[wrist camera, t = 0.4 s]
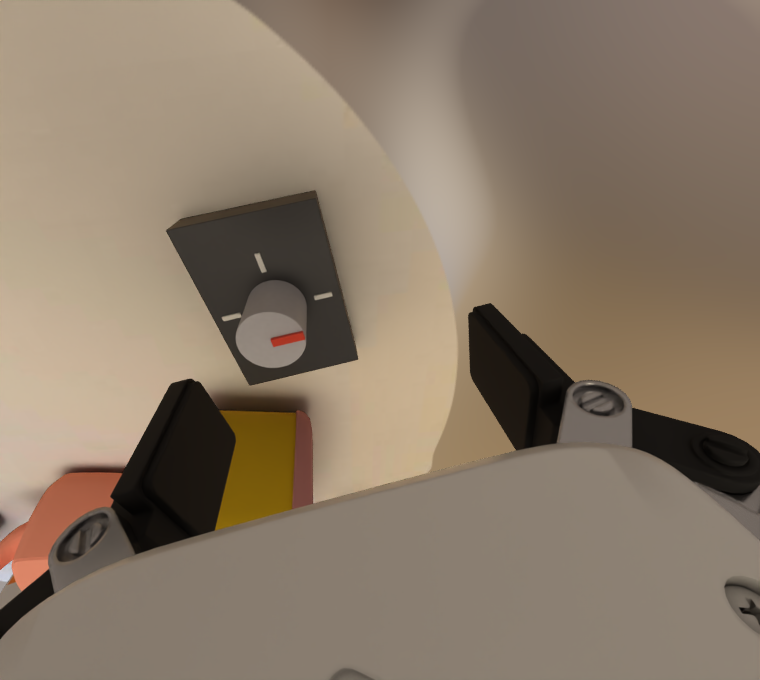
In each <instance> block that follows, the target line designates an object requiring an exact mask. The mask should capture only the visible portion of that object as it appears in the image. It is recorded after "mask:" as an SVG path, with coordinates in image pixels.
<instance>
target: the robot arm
mask: <svg viewBox="0 0 760 680" xmlns="http://www.w3.org/2000/svg"><path fill="white" fill-rule="evenodd" d="M468 320H469V352H470V373H471V377H472V380H473V382H474V383H475V385H476V386H477V388H478V390H479V391H480V393H481V395H482V396H483V398H484V399H485V401H486V403H487V404H488V406H489V407H490V409H491V411H492V412H493V414H494V415H495V417H496V419H497V420H498V422H499V424H500V425H501V427H502V428H503V430H504V432H505V433H506V435H507V437H508V438H509V440H510V441H511V443H512V444H513V446H514V448H515V449H516V451H513V452H509V453H505V454H501V455H497V456H493V457H488V458H484V459H480V460H476V461H472V462H468V463H465V464H460V465H457V466H453V467H449V468H445V469H442V470H438V471H434V472H430V473H426V474H423V475H419V476H415V477H411V478H407V479H404V480H400V481H396V482H392V483H388V484H385V485H381V486H377V487H374V488H370V489H366V490H362V491H359V492H355V493H351V494H348V495H344V496H340V497H336V498H333V499H329V500H325V501H322V502H318V503H314V504H310V505H307V506H303V507H299V508H296V509H292V510H288V511H285V512H281V513H277V514H274V515H270V516H267V517H263V518H259V519H256V520H252V521H248V522H245V523H241V524H237V525H234V526H230V527H227V528H223V529H219V530H216V531H215V528H216V524H217V519H218V515H219V511H220V507H221V503H222V498H223V494H224V490H225V486H226V482H227V477H228V473H229V469H230V465H231V461H232V456H233V452H234V448H235V444H236V437H235V433H234V432H233V430H232V429H231V427H230V426H229V424H228V423H227V421H226V420H225V418H224V417H223V415H222V414H221V412H220V411H219V409H218V408H217V406H216V405H215V403H214V402H213V400H212V399H211V398H210V396H209V395H208V393H207V392H206V390H205V389H204V387H203V386H202V384H201V383H200V382H198V381H196V382H195V381H194V380H193V379H187V380H183V381H179V382H175V383H172V384H171V385H170V386H169V388H168V390H167V392H166V394H165V395H164V397H163V399H162V401H161V403H160V405H159V407H158V408H157V410H156V412H155V414H154V416H153V418H152V419H151V421H150V423H149V425H148V427H147V429H146V431H145V432H144V434H143V436H142V438H141V440H140V442H139V444H138V445H137V447H136V449H135V451H134V453H133V455H132V457H131V458H130V460H129V462H128V464H127V466H126V468H125V469H124V471H123V473H122V475H121V477H120V479H119V481H118V482H117V484H116V486H115V488H114V490H113V492H112V494H111V495H110V497H111V498H112V499H113V500H114V501H113V503H112V505H111V507H101V508H96V509H94V510H92V511H89V512H87V513H86V514H84V515H82V516H81V517H79V518H78V519H76V520H75V521H74V522H73V523H72V524H70V525H69V526H68V527H67V528H66V529H65V530H64V531H63V532H62V533H61V535H60V536H59V537H58V538H57V540H56V541H55V543H54V544H53V546H52V548H51V550H50V553H49V555H48V566H49V569H48V570H47V571H46V572H45V573H43V574H42V575H41V576H40V577H39V578H37V579H36V580H35V581H34V582H33V583H31V584H30V585H29V586H28V587H27V588H25V589H24V590H23V591H22V592H21V593H19V594H18V595H17V596H16V597H15V598H13V599H12V600H11V601H10V602H9V603H7V604H6V605H5V606H4V607H3V608H1V609H0V680H760V453H759V452H758V451H757V450H756V449H755V448H753V447H752V446H751V445H749V444H748V443H747V442H745V441H743V440H741V439H739V438H737V437H735V436H733V435H730V434H727V433H724V432H721V431H718V430H714V429H710V428H706V427H703V426H699V425H695V424H691V423H688V422H684V421H680V420H676V419H672V418H669V417H665V416H661V415H658V414H654V413H650V412H646V411H642V410H639V409H635V408H632V405H631V401H630V399H629V398H628V397H627V395H626V394H625V393H624V392H623V391H621V390H620V389H619V388H617V387H615V386H613V385H611V384H608V383H604V382H601V381H595V380H583V381H579V382H576V383H575V382H574V381H573V380H572V379H571V378H570V377H569V376H568V375H567V374H566V373H565V372H564V371H563V370H562V369H561V368H560V367H559V366H558V365H557V364H556V363H555V362H554V361H553V360H552V359H550V357H549V356H548V355H547V354H546V353H545V352H544V351H543V350H542V349H541V348H540V347H539V346H538V345H537V344H536V343H535V342H534V341H532V339H531V338H529V337H528V336H527V335H526V334H521V333H520V332H519V331H518V330H517V329H516V328H515V327H514V326H513V325H512V324H511V323H510V322H509V321H508V320H507V319H506V318H505V317H504V316H503V315H502V314H501V313H500V312H499V311H498V310H497V309H496V308H495V307H494V306H493V305H492V304H491V303H489V304H485V305H482V306H477V307H474V308H473V312H471V313H469V315H468Z"/></svg>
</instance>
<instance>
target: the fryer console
mask: <svg viewBox="0 0 760 680" xmlns="http://www.w3.org/2000/svg"><path fill="white" fill-rule="evenodd" d="M166 232H167V233H168V235H169V237H170V239H171V241H172V243H173V245H174V246H175V248H176V250H177V252H178V254H179V256H180V258H181V259H182V261H183V263H184V265H185V267H186V269H187V271H188V272H189V274H190V276H191V278H192V280H193V282H194V284H195V285H196V287H197V289H198V291H199V293H200V295H201V297H202V298H203V300H204V302H205V304H206V306H207V308H208V310H209V311H210V313H211V315H212V317H213V319H214V321H215V323H216V324H217V326H218V328H219V330H220V332H221V334H222V336H223V337H224V339H225V341H226V343H227V345H228V347H229V349H230V350H231V352H232V354H233V356H234V358H235V360H236V362H237V363H238V365H239V367H240V369H241V371H242V373H243V375H244V376H245V378H246V380H247V382H248V384H249V385H250V386H251V385H255V384H259V383H263V382H267V381H272V380H276V379H280V378H284V377H288V376H292V375H296V374H300V373H305V372H309V371H313V370H317V369H321V368H325V367H329V366H334V365H338V364H342V363H346V362H350V361H354V360H358V355H357V350H356V345H355V341H354V337H353V333H352V329H351V325H350V321H349V317H348V313H347V310H346V306H345V302H344V298H343V294H342V290H341V286H340V282H339V279H338V275H337V271H336V267H335V263H334V259H333V255H332V252H331V248H330V244H329V240H328V236H327V232H326V228H325V224H324V221H323V217H322V213H321V209H320V205H319V201H318V197H317V193H316V191H315V190H314V191H310V192H305V193H300V194H296V195H291V196H286V197H282V198H277V199H272V200H268V201H263V202H258V203H254V204H249V205H244V206H240V207H235V208H230V209H226V210H221V211H216V212H212V213H207V214H202V215H198V216H193V217H188V218H183V219H180V220H179V221H178V222H176V223H175V224H174V225H173V226H171V227H170V228H169V229H167V230H166ZM270 280H280V281H285V282H288V283H290V284H292V285H294V286H295V287H296V288H298V289H299V290H300V291H301V293H302V294H303V296H304V297H305V300H306V304H307V323H306V346H305V350H304V352H303V353H302V355H301V356H300V357H299V358H298V359H297V360H296V361H295V362H293V363H291V364H289V365H287V366H284V367H279V368H268V367H262V366H259V365H256V364H254V363H252V362H250V361H249V360H247V359H246V358H245V357H244V356H243V355H242V354H241V352H240V351H239V349H238V347H237V344H236V332H237V329H238V326H239V323H240V320H241V317H242V314H243V311H244V309H245V306H246V303H247V300H248V297H249V295H250V293H251V291H252V290H253V289H254V288H255V287H256V286H257V285H259V284H260V283H263V282H266V281H270Z"/></svg>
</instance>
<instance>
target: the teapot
mask: <svg viewBox="0 0 760 680" xmlns="http://www.w3.org/2000/svg"><path fill="white" fill-rule="evenodd" d="M121 475H122V473H67V474H65V475H63V476H62V477H61V478H59V479H58V480H57V481H56V482H54V483H53V484H52V485H51V486H50V487H49V488H48V489H47V490H46V492H45V493H44V495H43V496H42V498H41V499H40V501H39V503H38V504H37V506H36V508H35V510H34V511H33V513H32V515H31V517H30V519H29V521H28V522H26V523H24V524H23V525H21V526H19V527H17V528H16V529H15V530H13V531H12V532H11V533H9V534H8V535H7V536H6V537H5V538H4V539H3V540H2V541H1V542H0V570H1V569H2V568H3V567H4V566H5V565H7V564H8V563H9V562H10V561H12V560H13V562H12V571H13V575H14V578H15V581H16V583H17V585H18V587H19V588H20V590H21V591H23V590H24V589H25V588H27V587H28V586H29V585H30V584H31V583H33V582H34V581H35V580H36V579H37V578H39V577H40V576H41V575H42V574H43V573H45V572H46V571H47V570H48V569H49V566H48V555H49V553H50V550H51V548H52V546H53V544H54V543H55V541H56V540H57V538H58V537H59V536H60V535H61V533H62V532H63V531H64V530H65V529H66V528H67V527H68V526H69V525H70V524H72V523H73V522H74V521H75V520H76V519H78V518H79V517H81V516H82V515H84V514H86V513H87V512H89V511H92V510H94V509H96V508H101V507H111V505H112V503H113V501H114V500H113V499H112V498H111V497H110V495H111V494H112V492H113V490H114V488H115V486H116V484H117V482H118V481H119V479H120V477H121Z"/></svg>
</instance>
